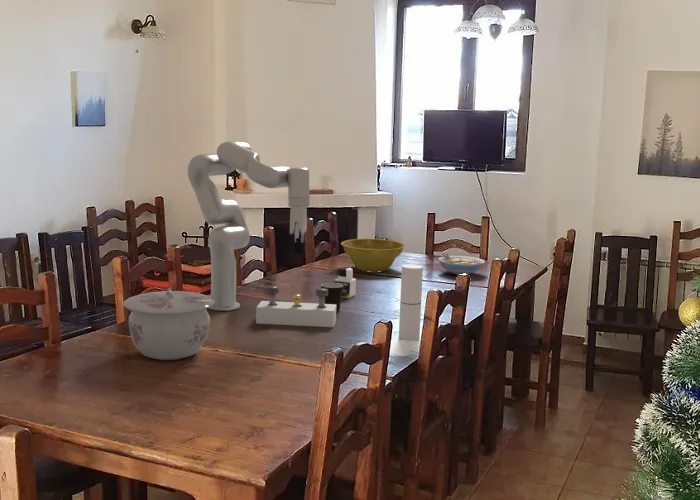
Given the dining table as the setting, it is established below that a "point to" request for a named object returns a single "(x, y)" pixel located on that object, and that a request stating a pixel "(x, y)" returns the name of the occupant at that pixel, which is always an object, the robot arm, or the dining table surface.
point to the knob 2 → (322, 296)
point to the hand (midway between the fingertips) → (299, 253)
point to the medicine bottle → (346, 282)
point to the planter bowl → (372, 253)
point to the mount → (296, 314)
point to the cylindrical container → (410, 302)
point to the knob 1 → (272, 294)
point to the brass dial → (296, 300)
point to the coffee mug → (333, 294)
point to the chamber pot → (169, 323)
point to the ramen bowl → (461, 264)
